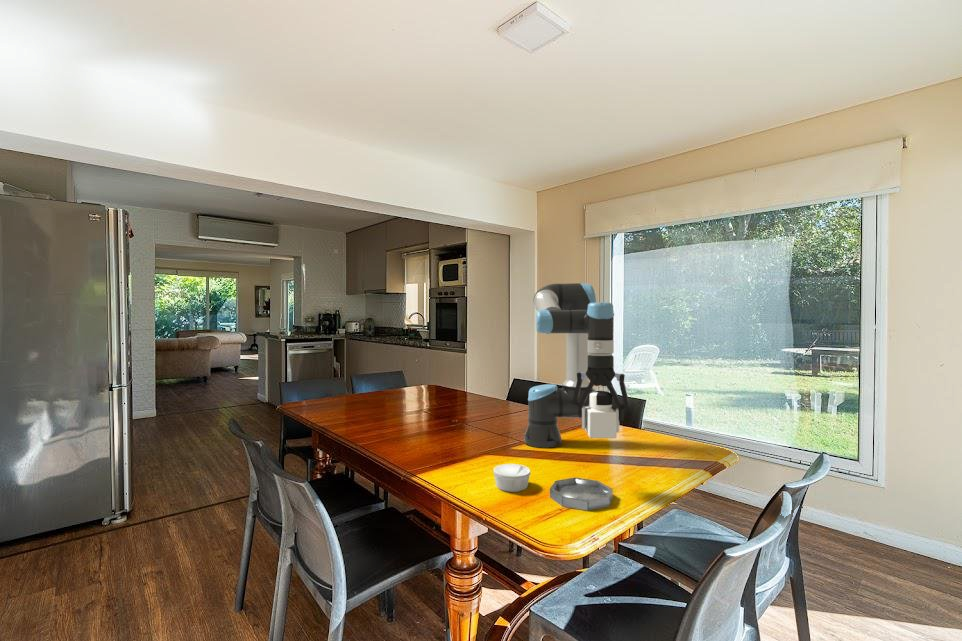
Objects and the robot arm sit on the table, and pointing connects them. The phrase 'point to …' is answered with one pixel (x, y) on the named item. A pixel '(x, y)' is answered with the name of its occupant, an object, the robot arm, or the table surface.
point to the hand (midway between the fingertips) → (600, 429)
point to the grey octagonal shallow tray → (581, 494)
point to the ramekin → (511, 477)
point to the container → (600, 416)
